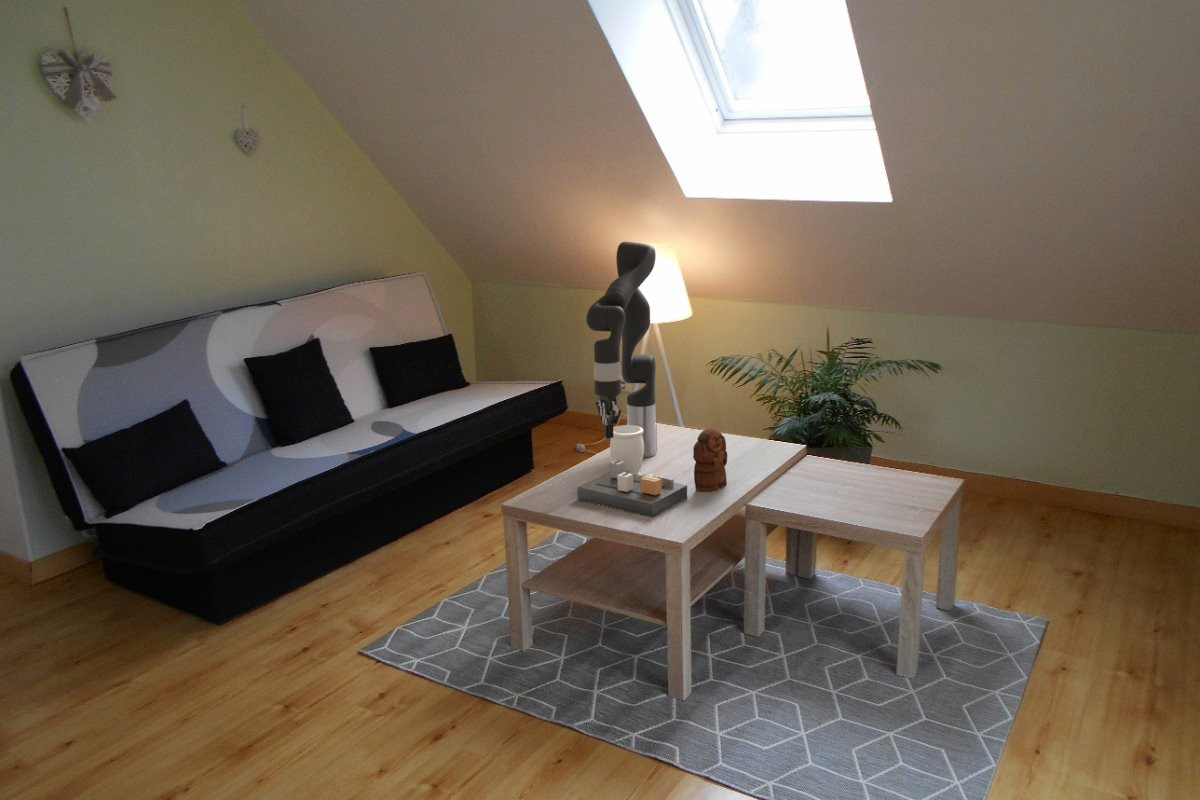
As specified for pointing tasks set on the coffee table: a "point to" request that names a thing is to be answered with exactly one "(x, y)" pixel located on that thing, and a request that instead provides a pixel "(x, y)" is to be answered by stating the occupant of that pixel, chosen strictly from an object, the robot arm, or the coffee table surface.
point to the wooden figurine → (710, 461)
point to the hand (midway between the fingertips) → (608, 437)
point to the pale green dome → (649, 475)
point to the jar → (628, 447)
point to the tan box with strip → (651, 485)
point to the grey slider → (616, 468)
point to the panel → (632, 495)
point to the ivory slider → (625, 482)
